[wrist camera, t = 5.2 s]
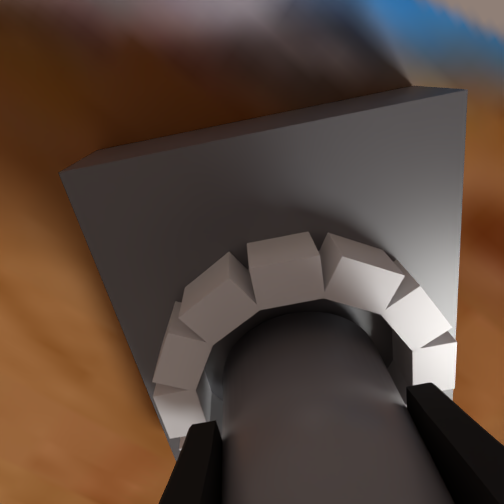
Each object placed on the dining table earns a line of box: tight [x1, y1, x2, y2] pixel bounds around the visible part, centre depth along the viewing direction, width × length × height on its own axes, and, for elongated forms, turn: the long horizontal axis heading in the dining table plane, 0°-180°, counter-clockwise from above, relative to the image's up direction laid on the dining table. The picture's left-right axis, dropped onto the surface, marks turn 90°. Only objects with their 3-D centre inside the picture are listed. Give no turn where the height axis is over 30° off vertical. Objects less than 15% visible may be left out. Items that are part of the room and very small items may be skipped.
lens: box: [221, 312, 455, 504], centre depth 9 cm, size 5×5×7 cm
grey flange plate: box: [59, 86, 468, 462], centre depth 13 cm, size 10×14×4 cm
